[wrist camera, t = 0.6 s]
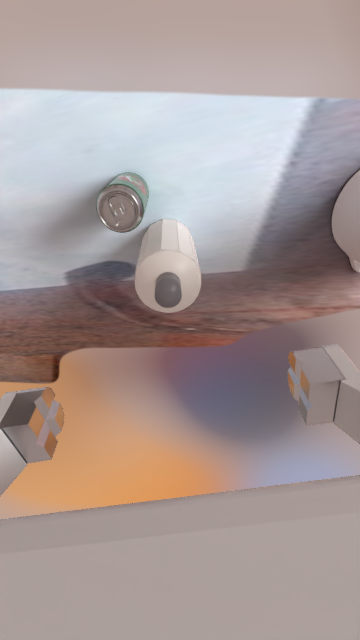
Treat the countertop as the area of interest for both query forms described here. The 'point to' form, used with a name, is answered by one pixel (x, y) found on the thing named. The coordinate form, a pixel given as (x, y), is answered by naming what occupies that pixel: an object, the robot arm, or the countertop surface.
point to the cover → (167, 267)
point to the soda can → (123, 202)
